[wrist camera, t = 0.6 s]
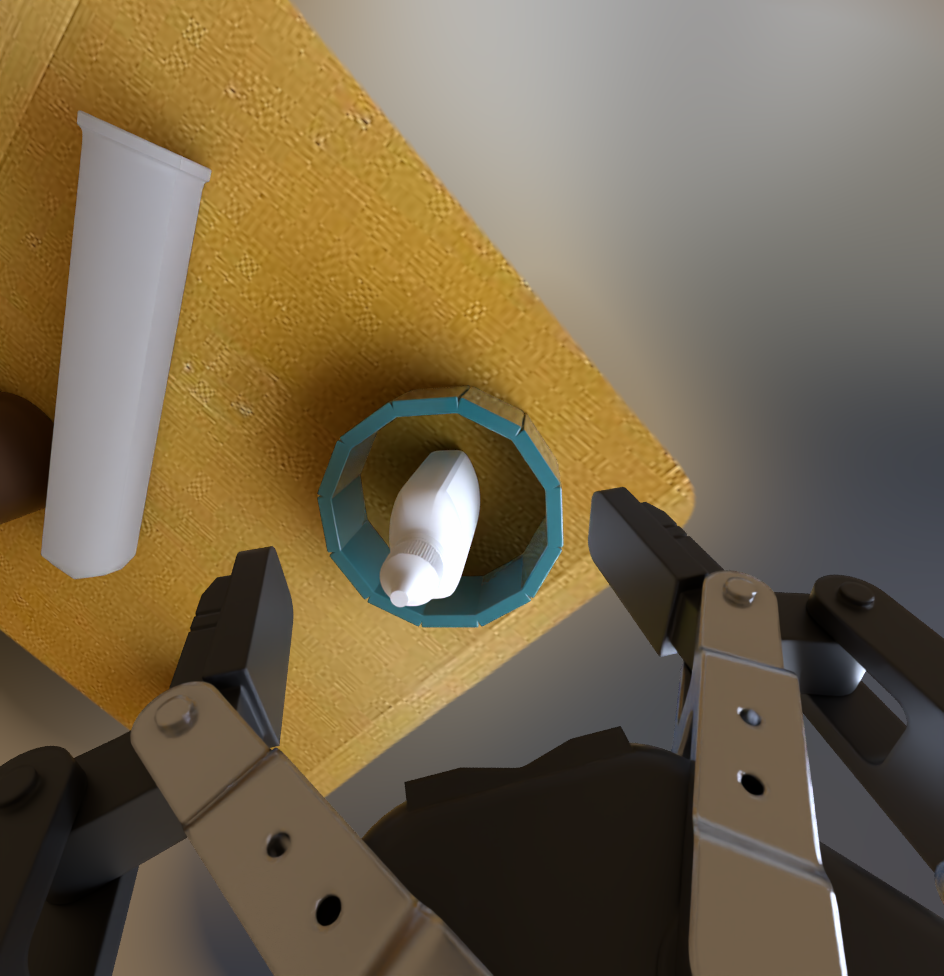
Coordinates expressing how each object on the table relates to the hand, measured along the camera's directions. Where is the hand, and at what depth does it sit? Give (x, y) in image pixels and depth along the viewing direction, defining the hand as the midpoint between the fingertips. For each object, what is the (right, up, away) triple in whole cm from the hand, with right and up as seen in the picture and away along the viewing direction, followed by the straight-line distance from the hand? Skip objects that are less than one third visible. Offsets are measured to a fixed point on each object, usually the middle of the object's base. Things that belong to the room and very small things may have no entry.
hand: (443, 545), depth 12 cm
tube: (-19, +8, +17) cm, 27 cm away
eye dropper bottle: (0, +1, +17) cm, 17 cm away
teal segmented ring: (0, +1, +17) cm, 17 cm away
